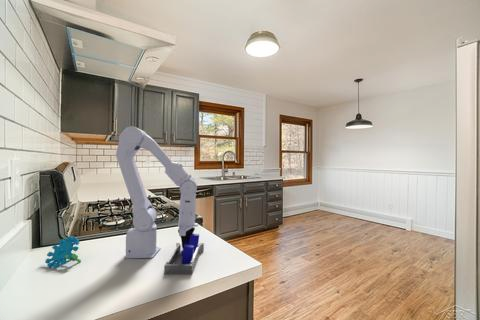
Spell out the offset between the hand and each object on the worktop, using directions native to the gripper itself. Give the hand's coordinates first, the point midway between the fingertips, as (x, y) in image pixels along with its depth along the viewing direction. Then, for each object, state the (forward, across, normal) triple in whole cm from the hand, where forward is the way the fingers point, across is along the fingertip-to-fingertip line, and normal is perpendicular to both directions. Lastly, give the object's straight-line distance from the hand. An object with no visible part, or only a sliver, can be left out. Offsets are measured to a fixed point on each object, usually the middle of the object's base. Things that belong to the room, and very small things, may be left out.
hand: (185, 248), depth 82 cm
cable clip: (+1, -6, -2) cm, 6 cm away
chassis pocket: (0, -9, -2) cm, 9 cm away
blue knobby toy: (+2, -10, +36) cm, 37 cm away
